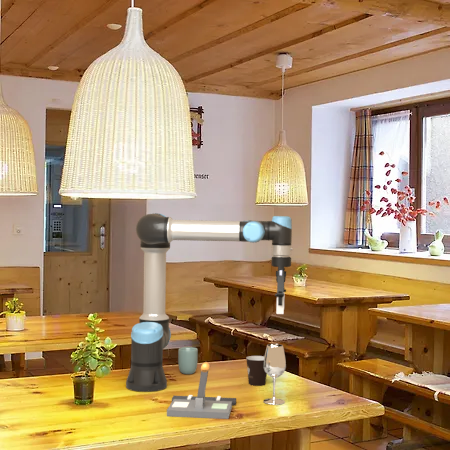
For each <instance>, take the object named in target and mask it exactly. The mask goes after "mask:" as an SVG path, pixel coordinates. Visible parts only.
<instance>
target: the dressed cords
mask: <svg viewBox="0 0 450 450" xmlns="http://www.w3.org/2000/svg"><path fill="white" fill-rule="evenodd" d="M196 398H197V395H196V396H193V394H188V395H172V397H171V402H172V401H173V399H185V400H195V399H196ZM205 400H210V401H232V406H236V404H237V398H236V397H222V396H221V395H217V396H205Z"/></svg>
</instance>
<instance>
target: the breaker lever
mask: <svg viewBox="0 0 450 450" xmlns="http://www.w3.org/2000/svg"><path fill="white" fill-rule="evenodd" d="M210 367H211V365H210V362H207V361H205V362H203V363H202V364H201V367H200V376H199V377H200V378H199V384H198V390H197V395H196V397H197V398H203V399H204V396H205V397H206V389H207V382H208V376H209V369H210Z"/></svg>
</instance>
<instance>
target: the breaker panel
mask: <svg viewBox="0 0 450 450" xmlns="http://www.w3.org/2000/svg"><path fill="white" fill-rule="evenodd" d="M205 397H206V395H205V396H204V399H203V398H196V399H195V400H185V399H173V401H172V400H171V403H170V405H169V406H168V408H167V409H166V417H175V418H200V419H223V420H224V419H225V420H229V418H230V416H231V411H232V408H233V405H232V401H210V400H205Z"/></svg>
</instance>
